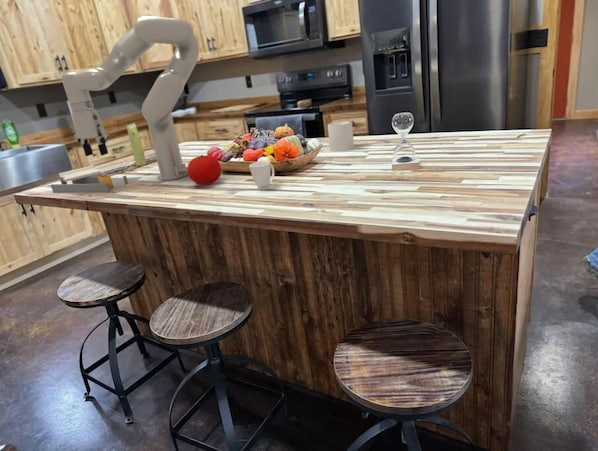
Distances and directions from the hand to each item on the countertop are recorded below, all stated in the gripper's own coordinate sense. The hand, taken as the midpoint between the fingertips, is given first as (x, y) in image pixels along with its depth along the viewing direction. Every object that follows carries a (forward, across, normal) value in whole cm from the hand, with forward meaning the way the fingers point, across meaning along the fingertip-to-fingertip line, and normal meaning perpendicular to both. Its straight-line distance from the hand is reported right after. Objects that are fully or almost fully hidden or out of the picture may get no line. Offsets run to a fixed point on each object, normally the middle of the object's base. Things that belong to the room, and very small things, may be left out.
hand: (96, 154), depth 162 cm
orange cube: (+13, 0, 0) cm, 13 cm away
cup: (+14, -70, -1) cm, 71 cm away
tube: (+14, +15, -37) cm, 42 cm away
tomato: (+14, -44, -5) cm, 46 cm away
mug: (+14, -81, -54) cm, 98 cm away
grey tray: (+14, +9, -4) cm, 17 cm away
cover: (+13, +20, -6) cm, 24 cm away
